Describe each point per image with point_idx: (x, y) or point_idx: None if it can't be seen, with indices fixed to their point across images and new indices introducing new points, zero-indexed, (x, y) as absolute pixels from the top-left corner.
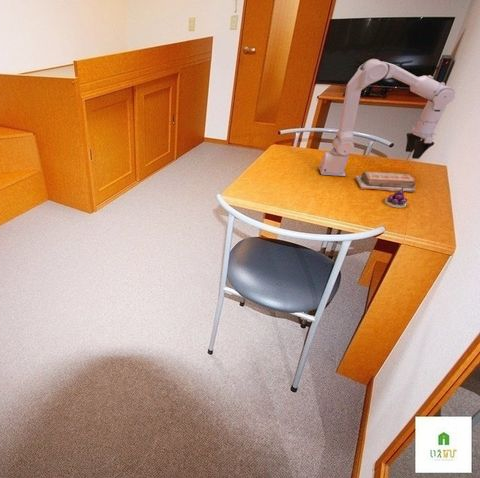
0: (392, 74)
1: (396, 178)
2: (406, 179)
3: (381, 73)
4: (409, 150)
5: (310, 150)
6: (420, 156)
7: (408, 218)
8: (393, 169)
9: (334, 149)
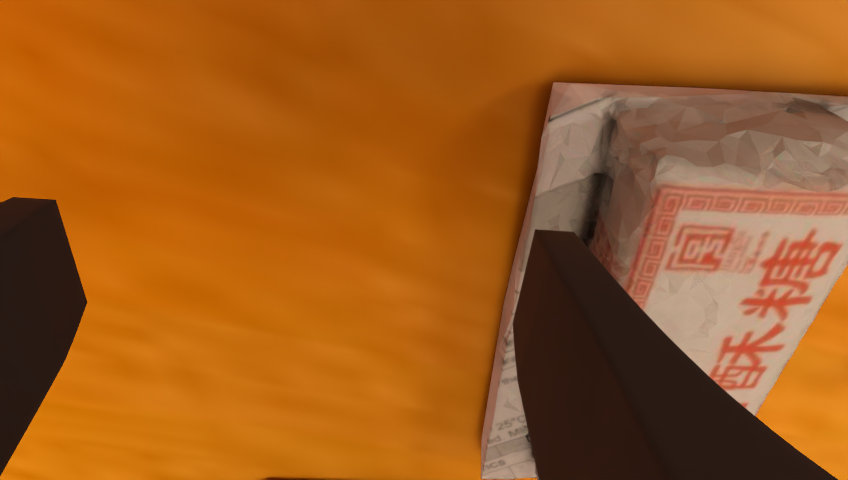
0: None
1: (773, 355)
2: (833, 276)
3: None
4: (56, 280)
5: None
6: (603, 269)
7: None
8: (64, 47)
9: None
